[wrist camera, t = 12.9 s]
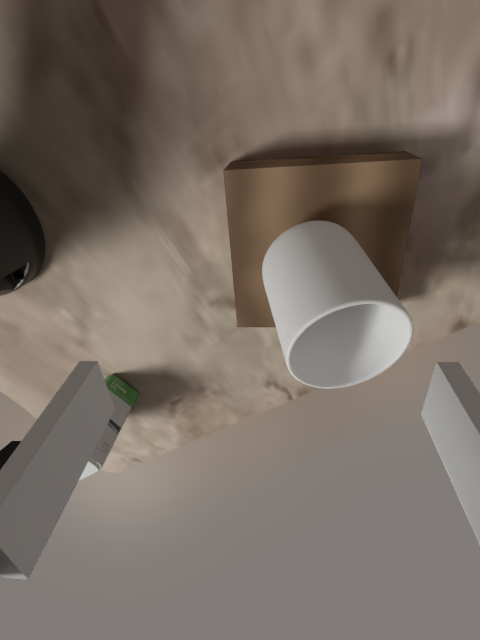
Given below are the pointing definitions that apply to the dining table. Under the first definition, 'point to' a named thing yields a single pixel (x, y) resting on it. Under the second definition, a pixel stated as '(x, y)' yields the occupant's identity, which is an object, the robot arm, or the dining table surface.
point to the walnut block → (316, 213)
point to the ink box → (111, 422)
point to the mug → (332, 307)
